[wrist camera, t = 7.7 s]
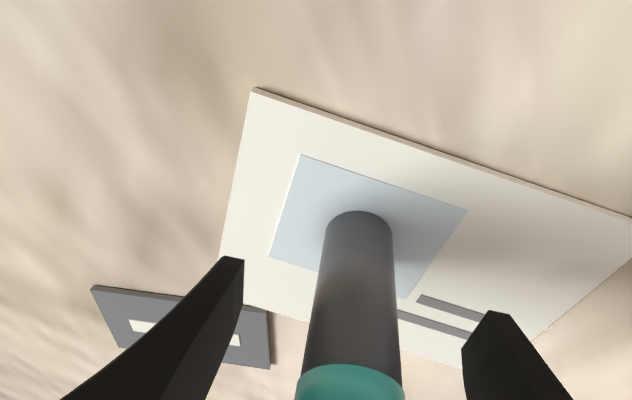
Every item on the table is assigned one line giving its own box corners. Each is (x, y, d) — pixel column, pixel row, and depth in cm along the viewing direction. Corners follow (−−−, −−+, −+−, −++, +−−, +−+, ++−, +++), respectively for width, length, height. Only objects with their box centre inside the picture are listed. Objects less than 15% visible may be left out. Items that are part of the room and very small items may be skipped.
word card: (266, 308, 17) (265, 314, 17) (270, 364, 20) (269, 370, 20) (93, 285, 18) (89, 290, 18) (121, 342, 21) (117, 348, 21)
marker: (408, 239, 13) (435, 462, 7) (357, 271, 14) (346, 482, 9) (359, 197, 12) (347, 409, 7) (309, 234, 13) (263, 440, 8)
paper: (653, 225, 12) (662, 234, 11) (484, 369, 18) (487, 378, 17) (254, 86, 11) (249, 91, 11) (214, 286, 17) (210, 294, 16)
